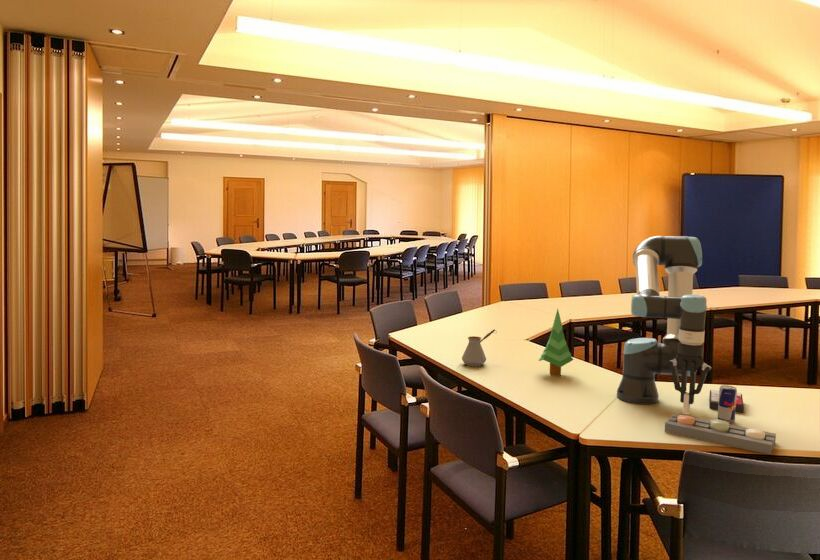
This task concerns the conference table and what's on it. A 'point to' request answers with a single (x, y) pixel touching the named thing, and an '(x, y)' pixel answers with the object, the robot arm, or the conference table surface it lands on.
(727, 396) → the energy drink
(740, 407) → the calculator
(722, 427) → the sage button
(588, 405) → the conference table surface
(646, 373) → the robot arm
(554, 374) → the decorative tree
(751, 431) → the white button
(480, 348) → the coffee pot
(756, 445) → the button panel
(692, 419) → the terracotta button
